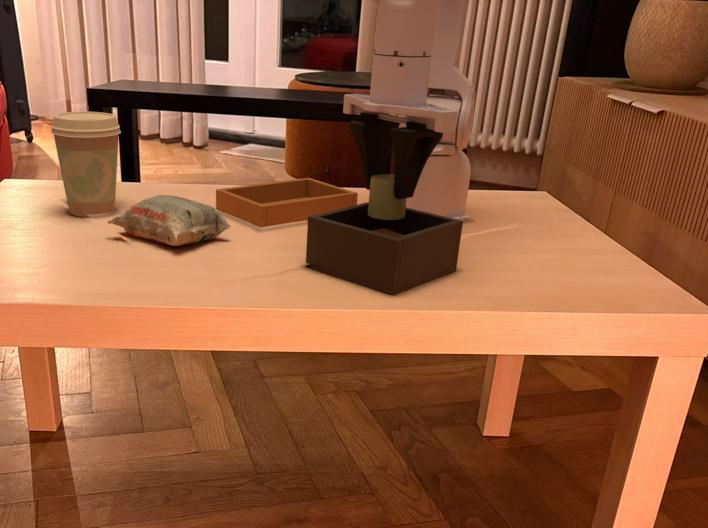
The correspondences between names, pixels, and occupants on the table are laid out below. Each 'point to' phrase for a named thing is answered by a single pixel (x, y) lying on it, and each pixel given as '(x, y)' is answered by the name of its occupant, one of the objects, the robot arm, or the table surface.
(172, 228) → the packaged food
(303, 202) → the brown wooden tray
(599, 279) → the table surface
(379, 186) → the green cylinder
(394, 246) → the black basket
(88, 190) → the coffee cup
